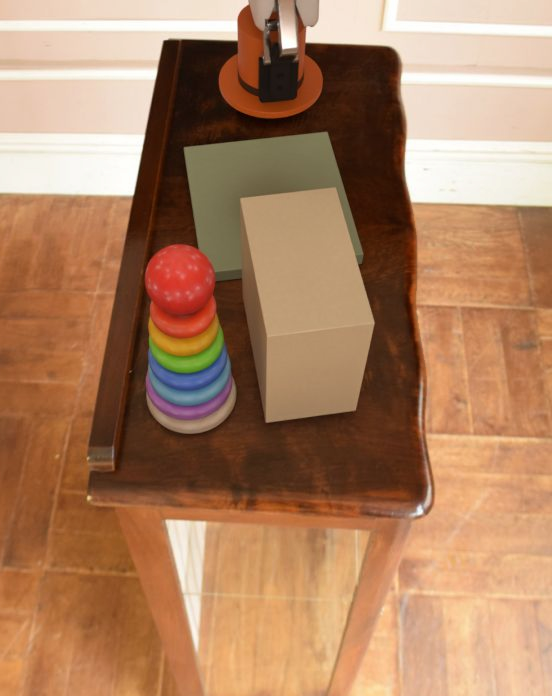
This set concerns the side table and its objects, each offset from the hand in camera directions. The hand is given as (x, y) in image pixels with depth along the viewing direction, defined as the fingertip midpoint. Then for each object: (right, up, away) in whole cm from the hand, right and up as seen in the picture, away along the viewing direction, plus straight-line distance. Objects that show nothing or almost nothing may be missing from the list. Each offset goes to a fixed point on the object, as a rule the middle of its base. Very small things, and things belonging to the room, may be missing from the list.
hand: (271, 72), depth 67 cm
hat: (0, -1, +1) cm, 1 cm away
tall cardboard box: (+2, -24, +5) cm, 25 cm away
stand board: (0, -8, +15) cm, 17 cm away
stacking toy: (-7, -28, +3) cm, 29 cm away
